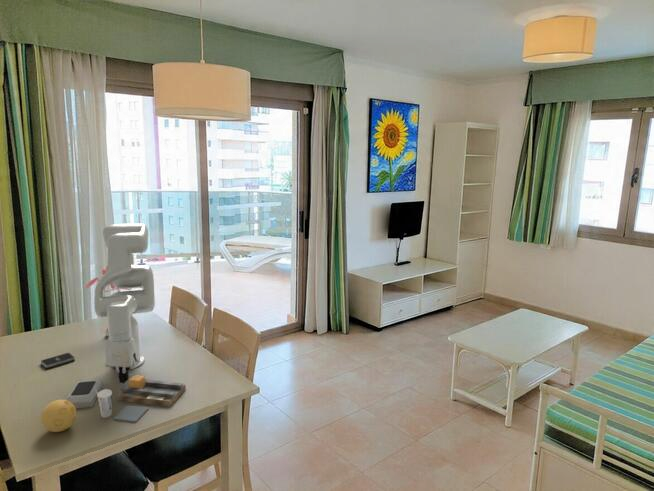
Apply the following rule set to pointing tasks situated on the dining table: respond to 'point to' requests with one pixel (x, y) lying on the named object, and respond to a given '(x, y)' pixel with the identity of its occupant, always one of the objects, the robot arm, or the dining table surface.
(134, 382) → the switch tab
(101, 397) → the milkshake
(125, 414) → the mat
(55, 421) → the stress ball
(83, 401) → the grey electronic device
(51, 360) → the external hard drive
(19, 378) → the dining table surface
